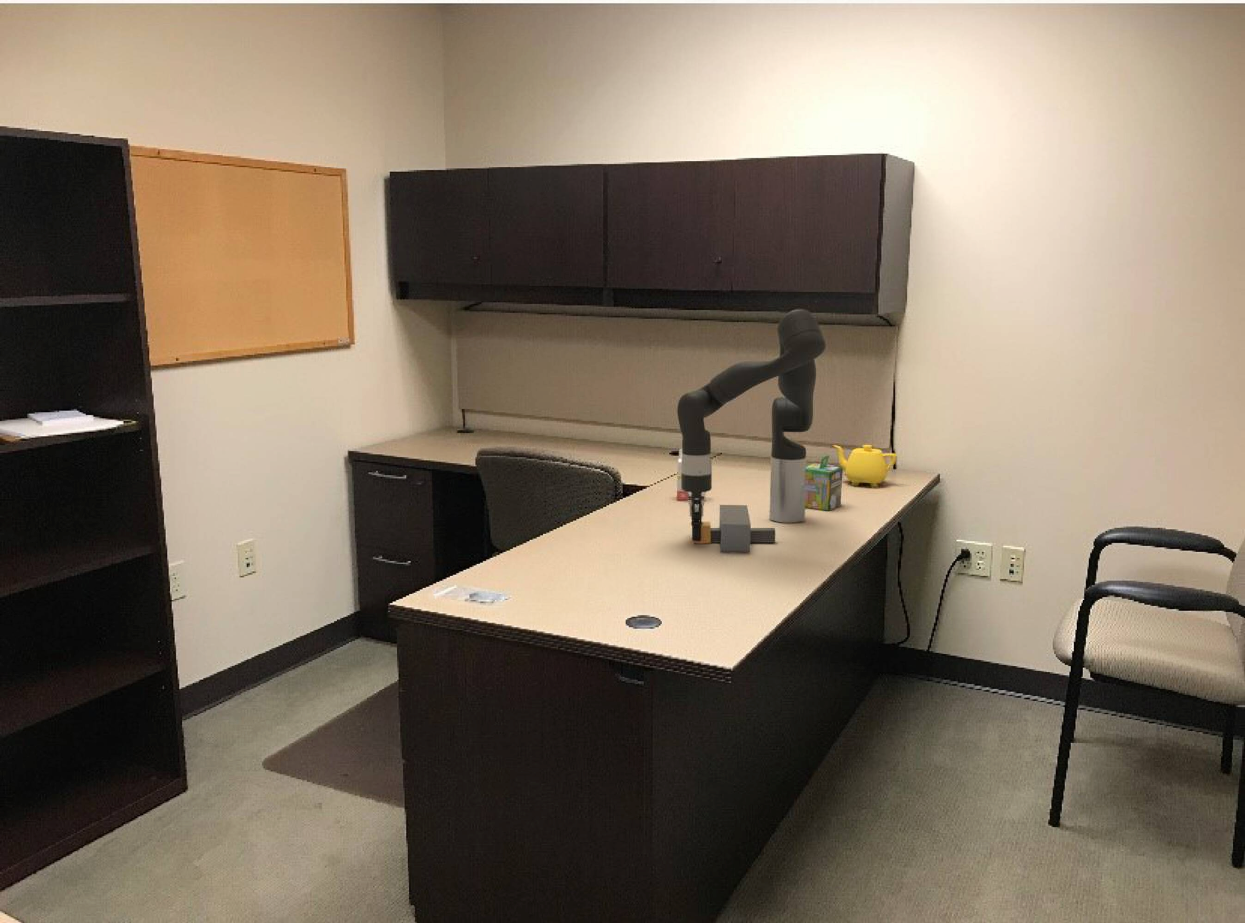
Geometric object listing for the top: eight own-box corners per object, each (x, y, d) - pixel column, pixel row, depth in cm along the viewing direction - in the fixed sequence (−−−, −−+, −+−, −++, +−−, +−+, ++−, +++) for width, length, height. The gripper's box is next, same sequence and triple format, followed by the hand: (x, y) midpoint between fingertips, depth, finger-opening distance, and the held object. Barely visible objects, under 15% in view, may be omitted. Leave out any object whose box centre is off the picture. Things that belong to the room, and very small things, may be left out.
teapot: (834, 477, 332) (835, 439, 330) (897, 481, 325) (899, 443, 323) (828, 485, 320) (829, 446, 317) (893, 490, 313) (895, 450, 311)
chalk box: (812, 501, 299) (814, 451, 296) (841, 505, 294) (844, 454, 291) (798, 507, 291) (800, 456, 288) (829, 511, 286) (831, 459, 283)
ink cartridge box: (676, 500, 299) (677, 451, 296) (677, 496, 304) (677, 448, 301) (705, 501, 298) (706, 452, 295) (706, 497, 303) (707, 448, 300)
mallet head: (746, 531, 265) (746, 505, 263) (749, 552, 245) (750, 524, 244) (719, 530, 265) (719, 504, 264) (720, 552, 246) (721, 524, 244)
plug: (773, 538, 256) (774, 521, 256) (775, 543, 252) (775, 525, 251) (694, 538, 258) (694, 521, 257) (694, 543, 253) (694, 526, 253)
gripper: (712, 477, 245) (712, 545, 248) (711, 465, 259) (710, 530, 262) (681, 477, 245) (681, 545, 249) (681, 465, 259) (681, 530, 263)
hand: (696, 537), depth 255 cm, fingers closed on plug, 4 cm apart
